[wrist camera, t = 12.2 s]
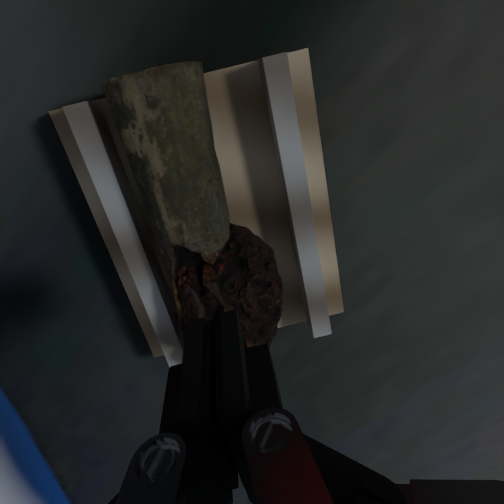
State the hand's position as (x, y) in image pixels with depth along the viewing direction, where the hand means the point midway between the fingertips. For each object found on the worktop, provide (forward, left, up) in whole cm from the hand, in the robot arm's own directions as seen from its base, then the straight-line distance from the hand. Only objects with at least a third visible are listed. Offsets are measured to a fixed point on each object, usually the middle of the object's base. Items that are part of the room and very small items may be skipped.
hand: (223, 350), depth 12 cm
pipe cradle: (0, 0, -13) cm, 13 cm away
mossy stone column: (0, +1, -12) cm, 12 cm away
